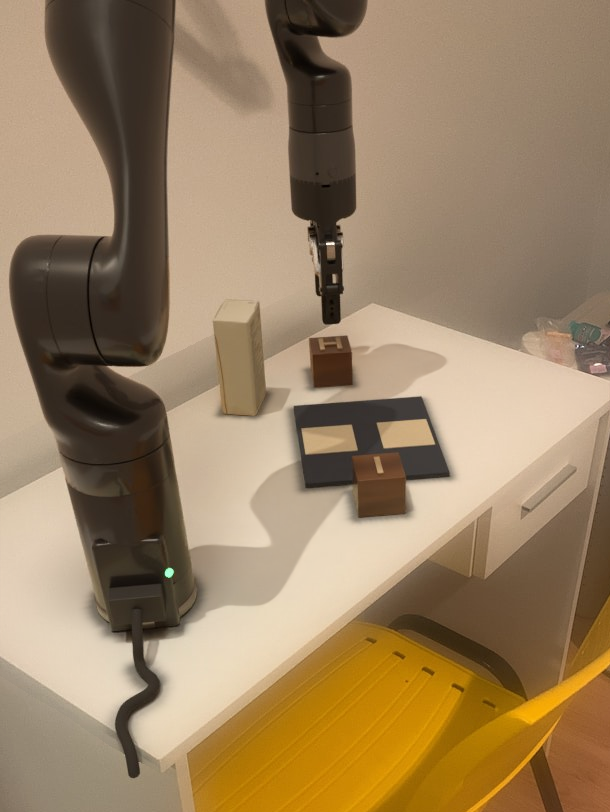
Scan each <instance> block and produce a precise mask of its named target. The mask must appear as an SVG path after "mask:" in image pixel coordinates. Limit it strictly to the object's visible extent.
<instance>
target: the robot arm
mask: <svg viewBox="0 0 610 812" xmlns="http://www.w3.org/2000/svg"><path fill="white" fill-rule="evenodd" d="M176 8H177V0H44V24H43V25H44V32H43V33H44V40H45V41H44V42H45V46H46V50H47V53H48V57H49V59H50V62H51V65H52V67H53V70H54V72H55V74H56V76H57V78H58V80H59V82H60V84H61V86H62V88H63V89H64V92H65V95H67V97H68V99H69V101H70V103H71V104H72V106H73V108H74V109H75V111H76V113H77V114H78V116H79V118H80V120H81V121H82V123H83V125H84V127H85V128H86V130H87V131H88V133H89V136H90V137H91V139H92V141H93V143H94V145H95V147H96V149H97V151H98V154H99V156H100V158H101V161H102V162H103V165H104V167H105V171H106V173H107V175H108V179H109V183H110V189H111V195H112V203H113V229H112V235H109V236H108V235H88V234H87V235H85V234H84V235H83V234H82V235H81V234H36V235H30V236H28V237H26V238H24V239H23V240H21V241H20V242H19V244H18V245H16V248H15V250H14V252H13V254H12V257H11V260H10V263H9V272H8V292H9V302H10V307H11V312H12V316H13V322H14V326H15V329H16V332H17V337H18V339H19V343H20V347H21V349H22V352H23V355H24V358H25V361H26V363H27V367H28V371H29V373H30V376H31V379H32V383H33V385H34V390H35V392H36V396H37V398H38V402H39V405H40V406H39V407H40V409H41V411H42V415H43V418H44V420H45V422H46V424H47V426H48V427H49V429H50V430H51V432H52V434H53V436H54V440H55V443H56V447H57V451H58V456H59V460H60V463H61V468H62V471H63V475H64V480H65V484H66V487H67V491H68V496H69V499H70V503H71V507H72V511H73V515H74V519H75V523H76V526H77V531H78V534H79V538H80V542H81V547H82V551H83V555H84V559H85V562H86V567H87V570H88V574H89V577H90V580H91V584H92V585H91V586H92V588H93V592H94V601H95V605H96V609H97V611H98V614H99V615H100V616H101V617H102V619H104V620H105V621H106V622H108V623H109V627H110V631H112V632H119V631H129V630H131V641H132V643H131V644H132V659H133V665H134V667H135V670H136V672H137V674H138V676H140V677H141V678H142V679H143V680H144V681H146V682H147V684H148V685H147V686H146V687H145V689H143V690H141V691H140V692H138V693H136V694H135V695H133V696H131V697H129V698H127V700H125V701H124V702H123V703H122V704H121V705H120V707H118V710H117V713H116V716H115V719H114V729H115V733H116V735H117V737H118V739H119V742H120V744H121V747H122V749H123V753H124V758H125V763H126V769H127V775H128V777H129V778H130V779H136V778H139V776H140V774H141V767H140V761H139V757H138V752H137V748H136V745H135V742H134V740H133V738H132V735H131V733H130V731H129V728H128V718H129V715H130V713H131V712H133V710H135V709H136V708H137V707H139V706H141V705H143V704H145V703H146V702H148V701H150V700H151V699H152V698H153V697H154V696H155V695H156V694H157V693H158V691H159V689H160V684H161V683H160V679H159V677H158V675H157V674H156V673H155V672H154V671H152V670H151V669H150V668H149V667H148V666H147V664H146V661H145V652H144V631H143V629H151V628H152V629H153V628H163V627H173V626H179V624H180V619H181V617H182V616H183V615H185V614H186V613H187V612H188V611H189V610H190V609H191V608H192V606H193V605H194V603H195V602H196V599H197V594H198V588H197V582H196V578H195V576H194V572H193V565H192V558H191V553H190V549H189V548H190V547H189V542H188V535H187V529H186V524H185V518H184V513H183V505H182V501H181V500H182V499H181V494H180V489H179V488H180V487H179V483H178V475H177V470H176V465H175V457H174V451H173V445H172V439H171V438H172V437H171V433H170V424H169V418H168V413H167V408H166V405H165V403H164V401H163V399H162V398H161V397H160V395H159V394H158V393H157V392H156V391H155V390H153V389H152V388H151V387H148V386H147V385H145V384H143V383H141V382H139V381H136V380H133V379H131V378H129V377H127V376H124V375H122V374H120V373H119V372H117V371H115V370H114V369H112V368H110V367H116V368H117V367H118V368H119V367H121V368H143V367H149V366H152V365H153V364H155V363H156V362H157V361H158V360H159V359H160V357H161V355H162V354H163V352H164V348H165V347H166V342H167V337H168V332H169V322H170V308H171V297H170V296H171V284H170V283H171V281H170V280H171V278H170V277H171V273H170V272H171V271H170V270H171V269H170V242H169V241H170V238H169V236H170V235H169V203H168V201H169V200H168V199H169V198H168V197H169V196H168V149H169V147H168V146H169V142H168V141H169V125H170V111H171V110H170V109H171V107H170V106H171V93H172V77H173V64H174V50H175V33H176V31H175V30H176ZM264 9H265V14H266V18H267V23H268V26H269V30H270V33H271V37H272V40H273V44H274V47H275V51H276V53H277V57H278V62H279V65H280V68H281V71H282V74H283V77H284V81H285V85H286V99H287V101H286V102H287V103H286V104H287V117H288V119H287V120H288V140H287V153H288V155H287V156H288V171H289V189H290V203H291V204H290V205H291V212H292V213H293V215H294V216H295V217H297V218H298V219H300V220H303V221H307V222H309V226H307V227H306V234H307V242H308V248H309V249H308V250H309V255H310V256H312V257H311V262H312V265H313V272H314V286H315V287H314V288H315V289H314V290H315V294H316V296H317V297H320V301H321V302H320V305H321V320H322V323H323V325H325V326H328V325H329V326H330V325H339V324H340V323H341V322H342V315H341V311H342V310H341V295H343V294H344V291H345V287H344V281H343V280H344V277H343V272H344V269H345V266H344V253H343V247H344V242H345V240H344V233H343V231H342V229H341V228H342V227H341V224H337V223H338V222H339V221H341V220H342V219H348V218H349V217H351V216H352V215H353V214H354V213H355V212H356V210H357V170H356V166H357V165H356V161H357V160H356V142H355V141H356V140H355V135H354V126H353V125H354V124H353V121H354V120H353V83H352V76H351V72H350V70H349V68H348V67H347V66H346V65H345V64H343V63H341V62H340V61H338V60H336V59H334V58H332V57H330V56H329V55H327V53H325V52H324V50H323V48H322V46H321V43H320V40H319V37H320V38H328V39H342V38H346V37H349V36H351V35H352V34H354V33H355V32H356V31H357V30H358V29H359V28H360V26H361V25H362V23H363V21H364V20H365V17H366V14H367V10H368V0H264ZM334 277H335V282H334Z"/></svg>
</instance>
